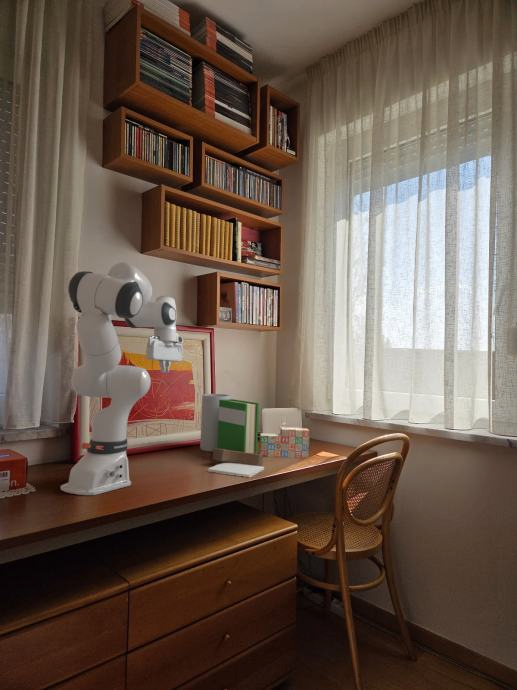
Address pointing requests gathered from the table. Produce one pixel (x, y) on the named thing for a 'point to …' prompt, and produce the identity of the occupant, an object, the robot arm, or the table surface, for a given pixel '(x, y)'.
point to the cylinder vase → (210, 421)
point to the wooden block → (237, 457)
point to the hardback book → (238, 425)
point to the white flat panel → (236, 469)
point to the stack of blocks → (285, 443)
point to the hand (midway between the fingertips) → (164, 372)
